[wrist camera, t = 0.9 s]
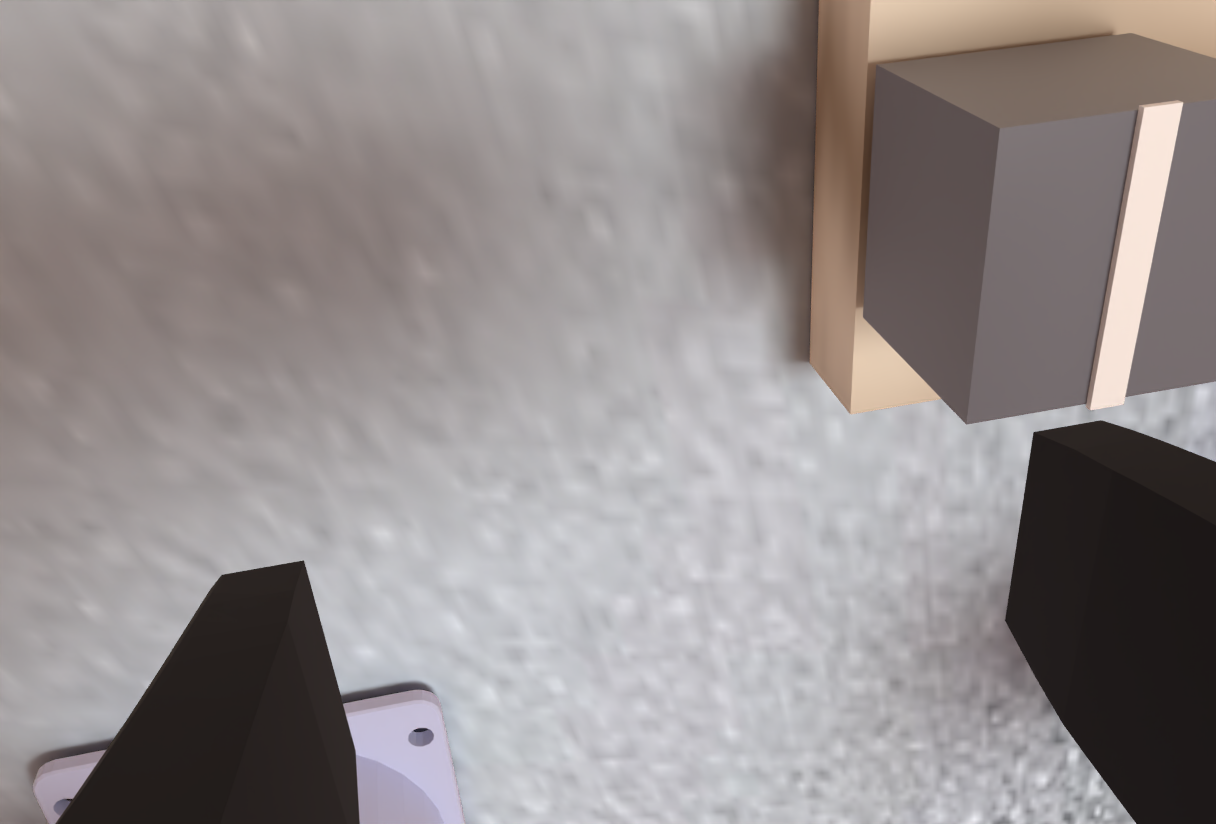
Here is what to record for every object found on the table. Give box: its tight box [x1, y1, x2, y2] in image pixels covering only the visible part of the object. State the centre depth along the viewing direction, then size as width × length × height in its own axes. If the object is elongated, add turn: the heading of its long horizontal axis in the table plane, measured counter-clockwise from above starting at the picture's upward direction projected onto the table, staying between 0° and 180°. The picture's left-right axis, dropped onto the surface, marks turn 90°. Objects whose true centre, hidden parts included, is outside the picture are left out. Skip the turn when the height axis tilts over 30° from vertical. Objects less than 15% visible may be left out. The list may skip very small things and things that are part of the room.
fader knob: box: [863, 33, 1216, 424], centre depth 15 cm, size 4×4×4 cm
